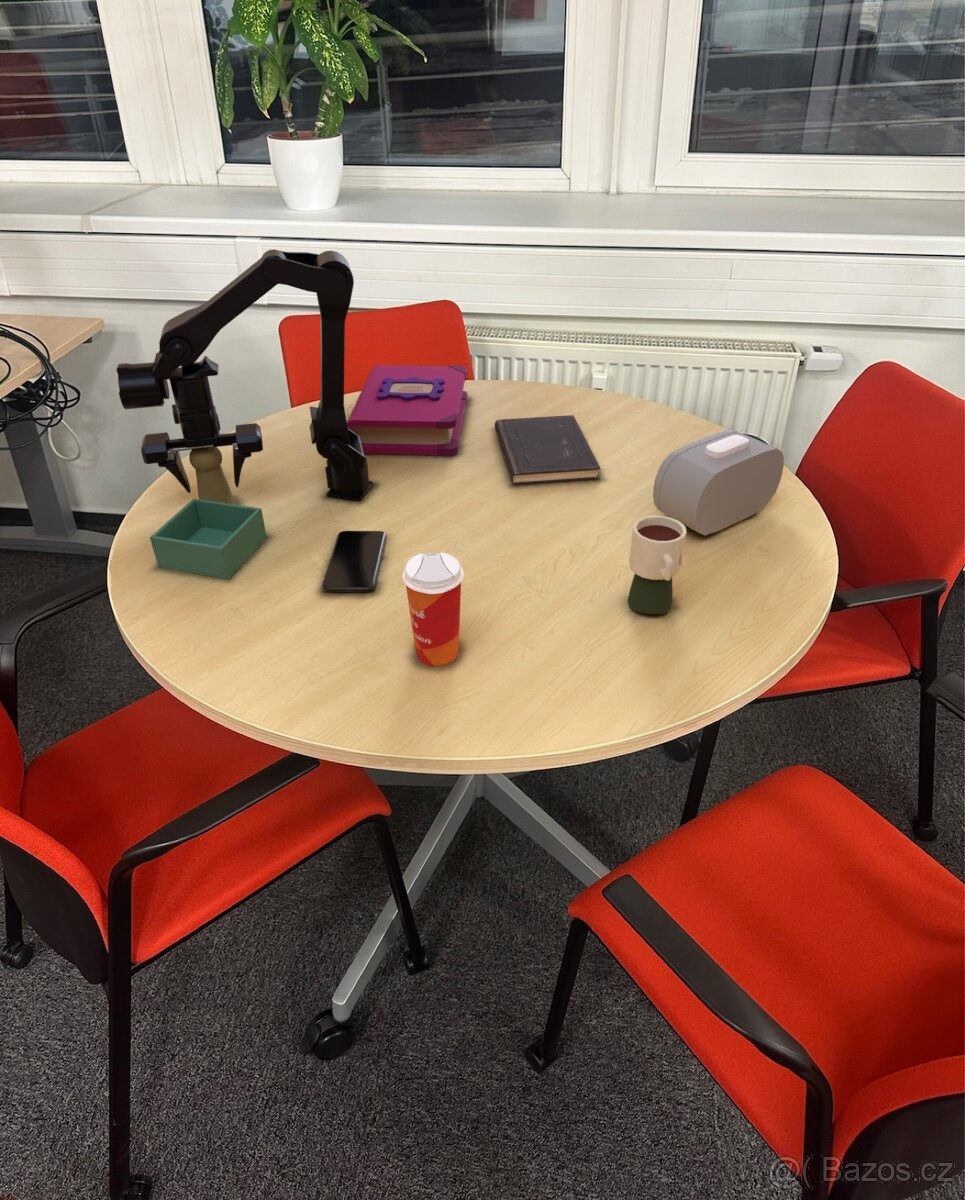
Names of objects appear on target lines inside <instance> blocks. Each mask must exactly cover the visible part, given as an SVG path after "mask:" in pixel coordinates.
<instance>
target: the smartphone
mask: <svg viewBox="0 0 965 1200" xmlns="http://www.w3.org/2000/svg"><path fill="white" fill-rule="evenodd" d="M386 539H387V533H386V532H384V531H382V530H342V531H340V532H339V533H337V536H336V539H335V542H334V546H333V547H332V548H333V549H332V552H331V556H330V559H329V562H328V565H327V568H326V571H325V575H324V578H323V582H322V585H321V587H322V590H323V591H325V592H328V593H329V592H331V593H369V592H372V591H374V590H375V588H376V584H377V580H378V575H379V571H380V567H381V562H382V557H383V553H384V549H385V543H386Z"/></svg>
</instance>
